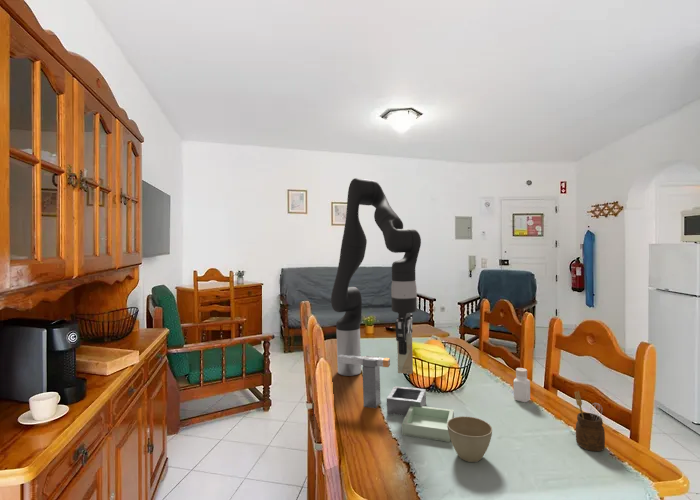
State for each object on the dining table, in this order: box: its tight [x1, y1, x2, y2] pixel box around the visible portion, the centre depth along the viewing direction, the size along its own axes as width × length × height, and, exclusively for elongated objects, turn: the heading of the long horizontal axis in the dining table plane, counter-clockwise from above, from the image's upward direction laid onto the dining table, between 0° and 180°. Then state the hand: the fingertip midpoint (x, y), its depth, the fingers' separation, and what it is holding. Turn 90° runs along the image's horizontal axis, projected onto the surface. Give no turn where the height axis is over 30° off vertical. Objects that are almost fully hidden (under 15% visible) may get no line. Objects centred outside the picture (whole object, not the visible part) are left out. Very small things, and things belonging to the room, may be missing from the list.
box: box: [396, 332, 414, 375], centre depth 114 cm, size 5×4×11 cm
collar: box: [386, 385, 427, 417], centre depth 115 cm, size 10×10×4 cm
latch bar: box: [338, 355, 391, 368], centre depth 119 cm, size 2×16×2 cm, turn 70°
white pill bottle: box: [513, 367, 531, 403], centre depth 118 cm, size 4×4×10 cm
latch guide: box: [361, 355, 381, 409], centre depth 118 cm, size 5×4×14 cm
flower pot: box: [447, 415, 493, 463], centre depth 88 cm, size 10×10×7 cm
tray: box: [401, 405, 455, 443], centre depth 103 cm, size 12×12×3 cm
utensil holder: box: [574, 390, 606, 452], centre depth 91 cm, size 6×6×12 cm
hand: (404, 351), depth 114 cm, fingers closed on box, 5 cm apart
